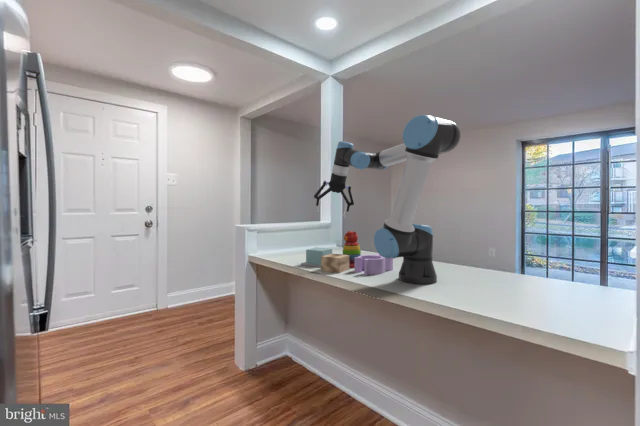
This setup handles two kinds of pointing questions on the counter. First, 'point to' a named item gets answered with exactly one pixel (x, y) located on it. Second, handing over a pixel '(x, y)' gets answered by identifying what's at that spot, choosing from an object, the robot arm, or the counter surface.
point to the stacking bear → (351, 247)
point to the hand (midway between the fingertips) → (330, 214)
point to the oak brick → (335, 263)
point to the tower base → (315, 256)
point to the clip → (373, 264)
